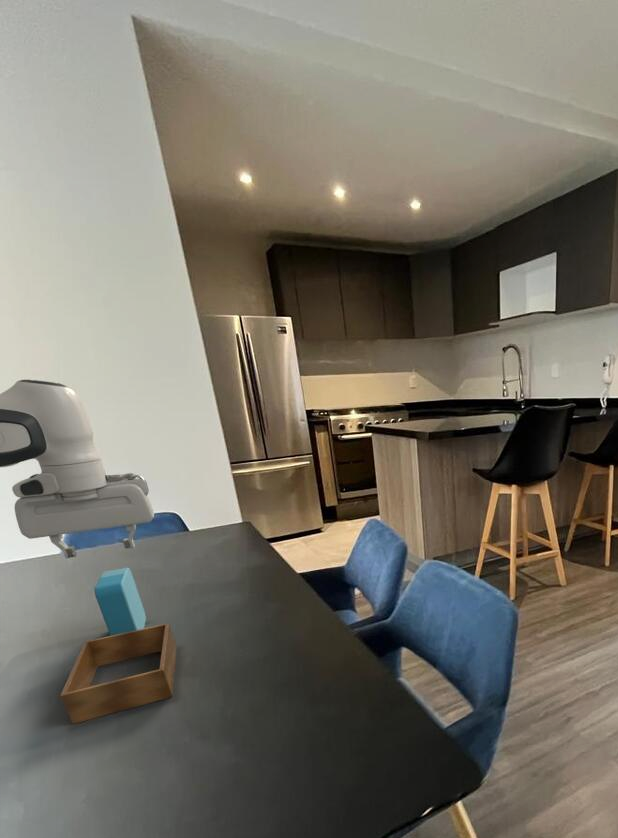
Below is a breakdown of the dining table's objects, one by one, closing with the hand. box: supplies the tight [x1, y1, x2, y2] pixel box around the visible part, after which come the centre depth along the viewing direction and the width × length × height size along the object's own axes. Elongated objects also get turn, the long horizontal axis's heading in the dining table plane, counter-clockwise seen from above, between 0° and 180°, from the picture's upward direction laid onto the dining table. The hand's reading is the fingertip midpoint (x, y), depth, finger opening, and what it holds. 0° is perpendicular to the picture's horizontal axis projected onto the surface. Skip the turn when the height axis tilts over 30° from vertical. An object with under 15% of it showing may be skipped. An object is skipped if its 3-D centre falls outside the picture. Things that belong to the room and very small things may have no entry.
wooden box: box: [60, 622, 177, 725], centre depth 81 cm, size 13×18×5 cm
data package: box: [94, 567, 147, 636], centre depth 97 cm, size 12×4×12 cm, turn 26°
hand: (101, 552), depth 92 cm, fingers open, 8 cm apart
